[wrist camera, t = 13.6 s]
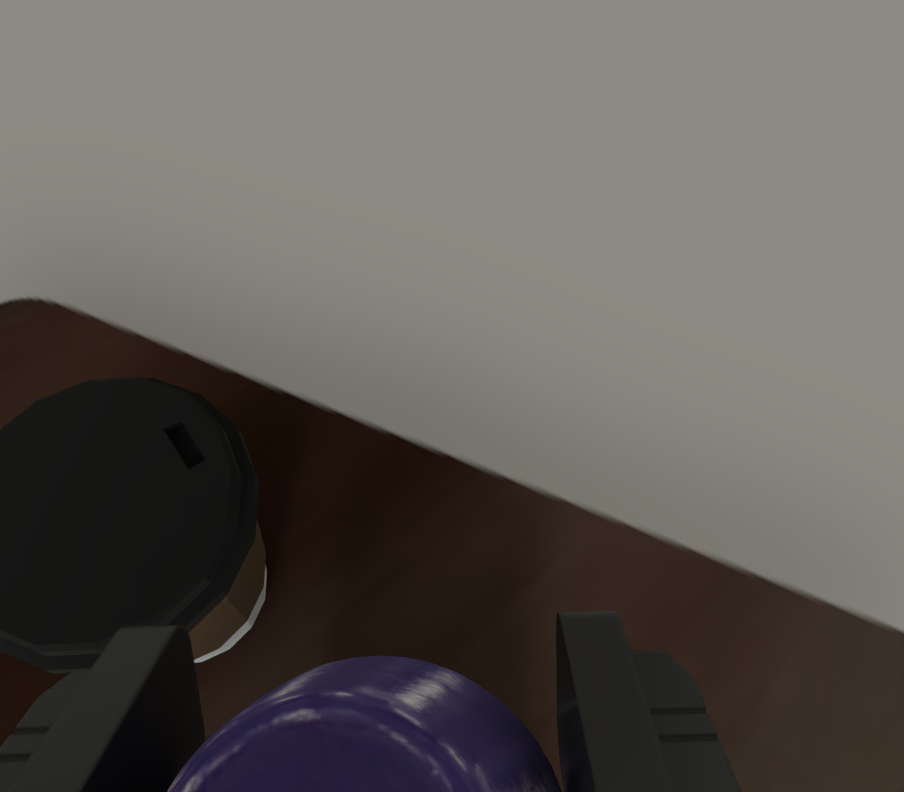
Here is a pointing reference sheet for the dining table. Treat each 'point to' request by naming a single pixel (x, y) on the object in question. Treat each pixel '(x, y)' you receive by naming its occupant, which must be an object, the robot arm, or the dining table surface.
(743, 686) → the dining table surface
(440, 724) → the toy lamp
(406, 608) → the dining table surface
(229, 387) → the dining table surface
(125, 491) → the coffee cup
